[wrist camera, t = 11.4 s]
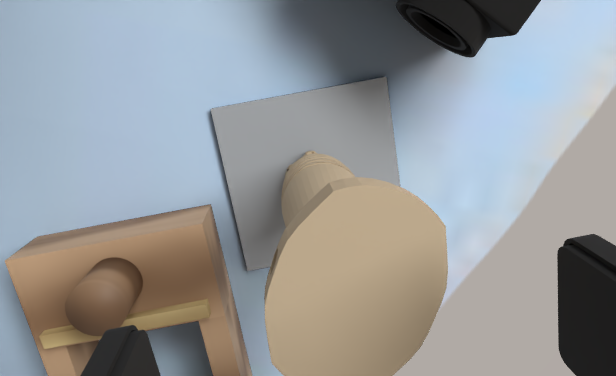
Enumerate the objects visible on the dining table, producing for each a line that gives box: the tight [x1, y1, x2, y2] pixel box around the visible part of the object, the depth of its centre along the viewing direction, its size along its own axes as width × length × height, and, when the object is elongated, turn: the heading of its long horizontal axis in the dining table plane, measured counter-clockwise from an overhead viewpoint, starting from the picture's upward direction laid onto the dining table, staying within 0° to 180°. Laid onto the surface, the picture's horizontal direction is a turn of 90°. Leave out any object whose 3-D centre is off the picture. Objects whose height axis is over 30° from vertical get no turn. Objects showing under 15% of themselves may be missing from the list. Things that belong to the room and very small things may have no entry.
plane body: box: [5, 204, 252, 376], centre depth 27 cm, size 15×10×6 cm
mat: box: [211, 77, 400, 271], centre depth 28 cm, size 10×10×1 cm
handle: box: [264, 151, 448, 376], centre depth 20 cm, size 5×6×15 cm
